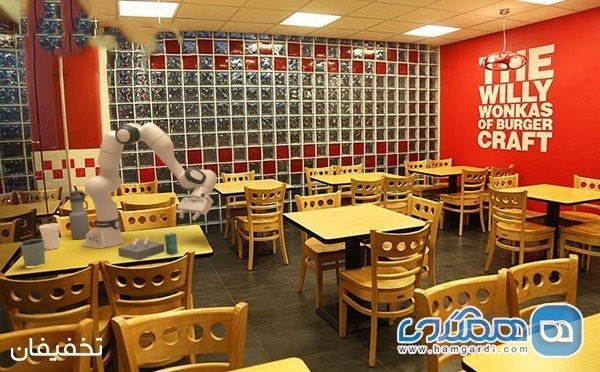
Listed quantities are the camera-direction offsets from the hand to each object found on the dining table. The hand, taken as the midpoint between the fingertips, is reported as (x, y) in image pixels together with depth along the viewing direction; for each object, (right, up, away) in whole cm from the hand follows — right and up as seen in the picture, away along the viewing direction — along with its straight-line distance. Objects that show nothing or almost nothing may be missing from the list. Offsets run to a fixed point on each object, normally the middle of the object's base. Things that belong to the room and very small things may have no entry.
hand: (186, 218), depth 238 cm
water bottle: (-70, -14, +31) cm, 78 cm away
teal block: (-6, -17, -7) cm, 19 cm away
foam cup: (-77, -17, +11) cm, 79 cm away
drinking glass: (-69, -22, -18) cm, 75 cm away
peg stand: (-22, -17, -5) cm, 28 cm away
